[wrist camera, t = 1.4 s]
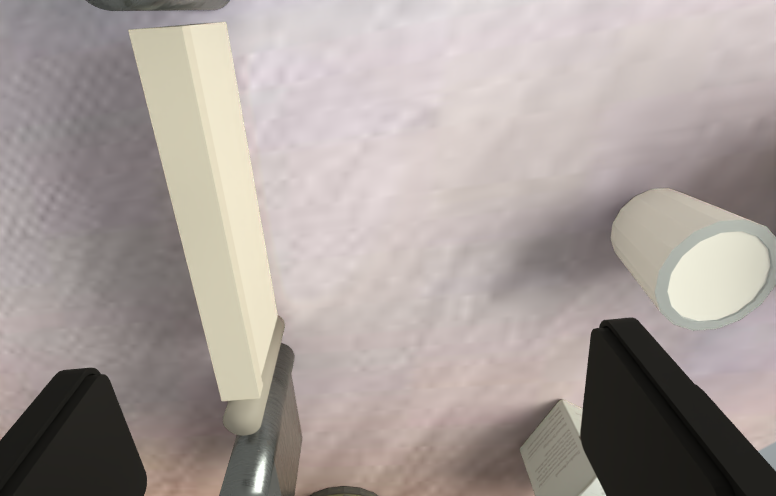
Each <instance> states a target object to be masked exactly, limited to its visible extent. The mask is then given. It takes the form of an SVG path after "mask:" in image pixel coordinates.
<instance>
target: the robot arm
mask: <svg viewBox="0 0 776 496" xmlns="http://www.w3.org/2000/svg"><path fill="white" fill-rule="evenodd" d="M580 437H581V443H582V447H583V450H584V452H585V454H586V456H587V458H588V460H589V462H590V464H591V466H592V468H593V470H594V472H595V474H596V476H597V478H598V480H599V482H600V484H601V486H602V488H603V490H604V492H605V494H606V496H776V471H775V470H774V469H773V468H772V467H771V466H770V464H768V462H767V461H766V460H765V459H764V458H763V457H762V456H761V455H760V453H759V452H758V451H757V450H756V449H755V448H754V447H753V446H752V444H751V443H750V442H749V441H748V440H747V439H746V438H745V437H744V435H743V434H742V433H741V432H740V431H739V430H738V429H737V428H736V427H735V425H734V424H733V423H732V422H731V421H730V420H729V419H728V418H727V417H726V415H725V414H724V413H723V412H722V411H721V410H720V409H719V408H718V406H717V405H716V404H715V403H714V402H713V401H712V400H711V399H710V398H709V396H708V395H707V394H706V393H705V392H704V391H703V390H702V389H701V388H700V387H698V386H697V385H695V384H694V383H693V382H692V381H691V380H690V378H689V377H688V376H687V375H686V374H685V373H684V372H683V371H682V369H681V368H680V367H679V366H678V365H677V364H676V363H675V362H674V360H673V359H672V358H671V357H670V356H669V355H668V354H667V353H666V351H665V350H664V349H663V348H662V347H661V346H660V345H659V344H658V342H657V341H656V340H655V339H654V338H653V337H652V336H651V334H650V333H649V332H648V331H647V330H646V329H645V328H644V327H643V325H642V324H641V323H640V322H639V321H638V320H637V319H635V318H621V319H610V320H604V321H602V322H601V324H600V327H599V328H595V329H593V330H592V332H591V339H590V348H589V357H588V366H587V375H586V384H585V393H584V402H583V411H582V420H581V430H580ZM146 486H147V475H146V472H145V469H144V467H143V464H142V461H141V459H140V456H139V454H138V451H137V449H136V446H135V444H134V441H133V439H132V436H131V433H130V431H129V428H128V426H127V423H126V421H125V418H124V416H123V413H122V410H121V408H120V405H119V403H118V400H117V398H116V395H115V393H114V390H113V388H112V385H111V382H110V380H109V378H108V377H107V376H106V375H104V374H100V372H99V371H98V370H97V369H96V368H81V369H71V370H63V371H60V372H58V373H57V374H56V375H55V376H54V377H53V378H52V380H51V381H50V382H49V383H48V384H47V385H46V387H45V388H44V389H43V390H42V391H41V393H40V394H39V395H38V396H37V397H36V399H35V400H34V401H33V402H32V403H31V405H30V406H29V407H28V408H27V409H26V411H25V412H24V413H23V414H22V415H21V417H20V418H19V419H18V420H17V421H16V423H15V424H14V425H13V426H12V427H11V428H10V430H9V431H8V432H7V433H6V434H5V436H4V437H3V438H2V439H1V440H0V496H144V494H145V491H146Z"/></svg>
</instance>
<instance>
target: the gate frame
mask: <svg viewBox="0 0 776 496" xmlns="http://www.w3.org/2000/svg"><path fill="white" fill-rule="evenodd" d="M86 1H87V2H89V3H90V4H92V5H94V6H95V7H98V8H100V9H104V10H109V11H158V10H218V9H221V8H223V7H224V6H226V5H227V4H228V2H229V1H230V0H86ZM293 363H294V353H293V351H292V349H291V348H290V347H289V346H287V345H285V344H283V343H281V345H280V349H279V353H278V357H277V361H276V365H275V370H274V374H273V378H272V382H271V386H270V390H269V394H268V399H267V403H266V407H265V411H264V415H263V419H262V423H261V427H260V428H259V430H258V431H257V432H255V433H253V434H251V435H245V436H242V435H237V436H236V440H235V443H234V447H233V450H232V454H231V457H230V460H229V464H228V467H227V471H226V474H225V477H224V481H223V484H222V488H221V491H220V495H219V496H294V495H295V488H296V481H297V473H298V466H299V459H300V452H301V444H302V434H301V428H300V422H299V416H298V411H297V405H296V399H295V393H294V387H293V382H292V376H291V373H292V368H293Z"/></svg>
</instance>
